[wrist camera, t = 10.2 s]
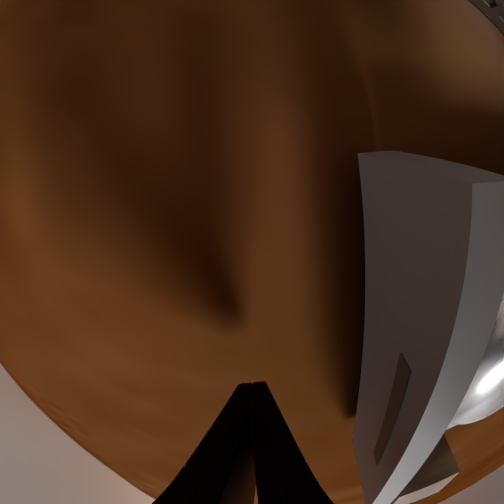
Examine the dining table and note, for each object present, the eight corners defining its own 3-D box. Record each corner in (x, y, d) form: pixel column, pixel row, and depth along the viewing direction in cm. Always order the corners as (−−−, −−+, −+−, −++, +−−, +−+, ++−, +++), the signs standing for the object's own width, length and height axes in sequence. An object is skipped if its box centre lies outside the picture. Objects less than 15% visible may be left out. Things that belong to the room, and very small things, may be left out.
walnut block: (440, 425, 12) (459, 471, 9) (424, 451, 14) (438, 491, 10) (385, 445, 13) (399, 497, 9) (375, 467, 14) (385, 511, 11)
